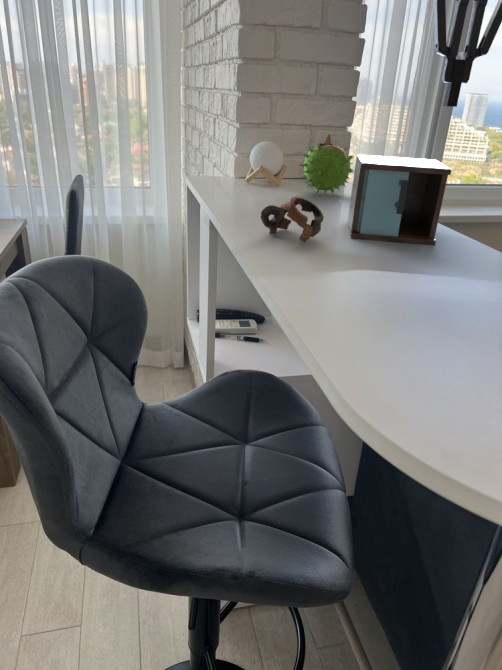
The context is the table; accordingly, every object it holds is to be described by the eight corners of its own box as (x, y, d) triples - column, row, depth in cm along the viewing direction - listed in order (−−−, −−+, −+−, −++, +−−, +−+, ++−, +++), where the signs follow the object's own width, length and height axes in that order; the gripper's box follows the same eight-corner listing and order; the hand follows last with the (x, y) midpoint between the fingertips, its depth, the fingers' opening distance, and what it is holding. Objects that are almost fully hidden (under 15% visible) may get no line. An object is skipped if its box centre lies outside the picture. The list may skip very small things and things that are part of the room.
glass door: (397, 236, 98) (409, 170, 92) (400, 242, 94) (413, 173, 89) (359, 233, 99) (369, 167, 93) (361, 239, 95) (371, 170, 89)
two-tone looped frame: (295, 229, 104) (317, 197, 99) (311, 261, 99) (335, 230, 93) (246, 218, 97) (266, 183, 92) (260, 251, 92) (282, 217, 87)
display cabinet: (422, 227, 109) (436, 159, 103) (435, 245, 97) (451, 169, 90) (347, 221, 110) (356, 154, 104) (350, 238, 98) (361, 163, 92)
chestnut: (282, 158, 132) (307, 141, 142) (300, 209, 138) (323, 189, 148) (332, 141, 123) (355, 124, 133) (349, 196, 128) (371, 177, 138)
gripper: (445, -90, 67) (412, 104, 78) (547, -88, 66) (499, 109, 77) (434, -74, 74) (404, 103, 85) (526, -71, 73) (485, 107, 83)
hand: (449, 106), depth 81 cm, fingers closed
